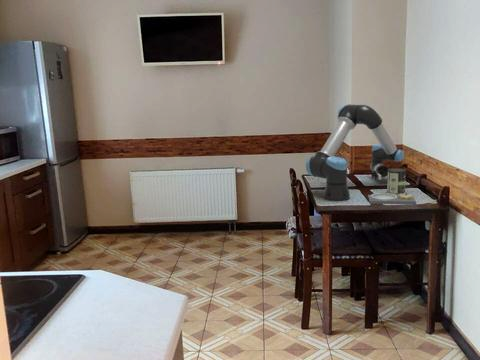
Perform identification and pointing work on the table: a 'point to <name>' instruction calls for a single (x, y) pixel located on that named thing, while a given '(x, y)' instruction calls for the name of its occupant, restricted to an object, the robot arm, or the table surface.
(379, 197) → the gear board
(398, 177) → the coffee can
